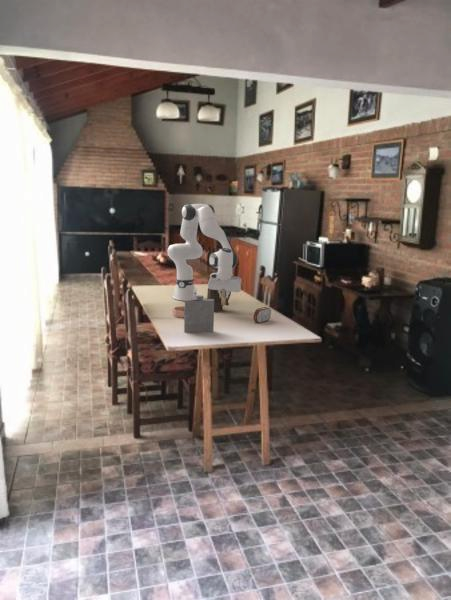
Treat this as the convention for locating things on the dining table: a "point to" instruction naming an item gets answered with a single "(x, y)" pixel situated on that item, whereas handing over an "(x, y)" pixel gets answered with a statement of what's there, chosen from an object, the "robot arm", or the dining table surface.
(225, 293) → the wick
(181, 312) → the candle jar
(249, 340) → the dining table surface
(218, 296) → the beer stein
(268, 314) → the tin
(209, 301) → the hip flask
